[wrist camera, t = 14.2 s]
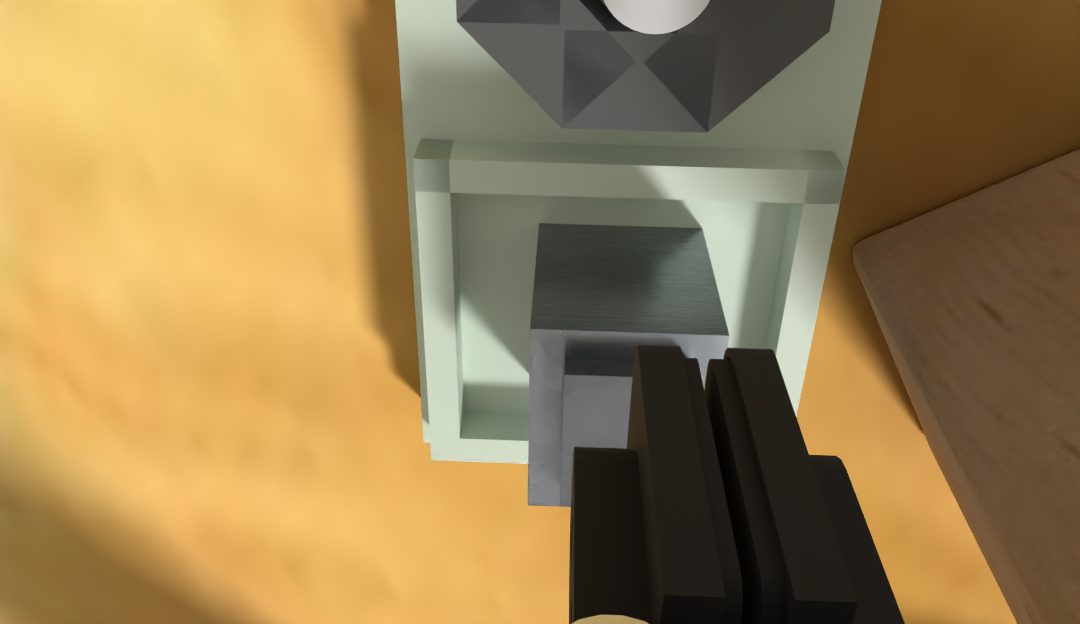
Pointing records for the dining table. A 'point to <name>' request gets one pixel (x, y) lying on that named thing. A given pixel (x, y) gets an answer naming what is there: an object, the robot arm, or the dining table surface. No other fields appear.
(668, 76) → the faceted grey bowl
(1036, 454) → the wooden block
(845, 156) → the chassis
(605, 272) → the block
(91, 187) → the dining table surface
